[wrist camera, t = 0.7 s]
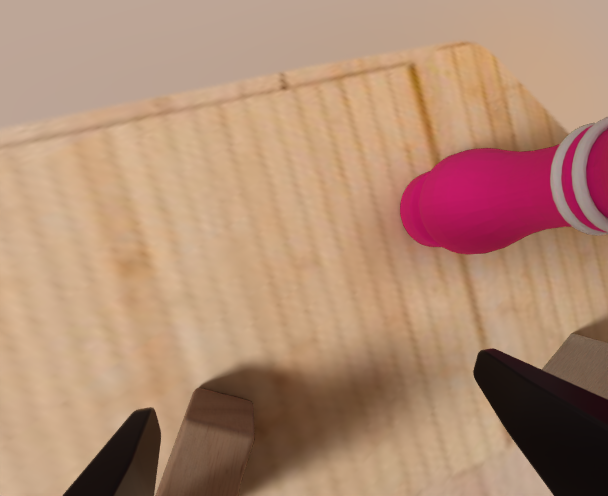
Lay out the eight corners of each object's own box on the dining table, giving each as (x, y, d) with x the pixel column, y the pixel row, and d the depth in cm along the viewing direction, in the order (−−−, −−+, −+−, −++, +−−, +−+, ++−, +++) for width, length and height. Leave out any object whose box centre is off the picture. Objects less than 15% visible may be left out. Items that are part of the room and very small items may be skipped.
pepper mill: (444, 269, 26) (1038, 342, 7) (377, 221, 25) (858, 138, 5) (485, 199, 27) (1134, 76, 7) (422, 149, 26) (994, -158, 6)
